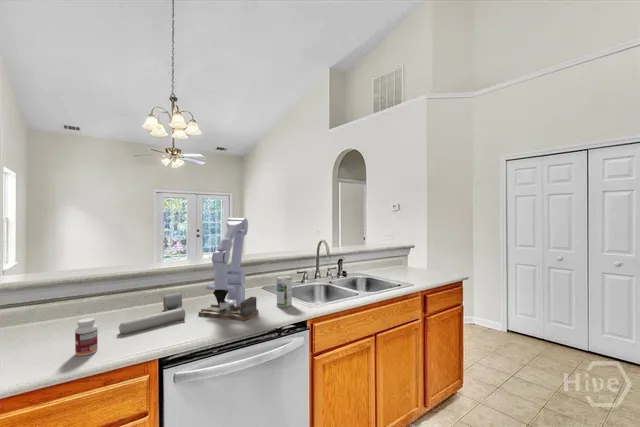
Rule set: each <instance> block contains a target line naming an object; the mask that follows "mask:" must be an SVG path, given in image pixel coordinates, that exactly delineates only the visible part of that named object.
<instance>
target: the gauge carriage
mask: <svg viewBox="0 0 640 427" xmlns="http://www.w3.org/2000/svg"><path fill="white" fill-rule="evenodd" d="M239 307H240V305H236V300H229V299H227V298H226V299H225V300H224V301H222V302H220V310H221V311H220V312H222V311H233V310H235V309H239Z"/></svg>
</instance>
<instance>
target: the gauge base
mask: <svg viewBox="0 0 640 427" xmlns="http://www.w3.org/2000/svg"><path fill="white" fill-rule="evenodd" d="M239 306H240V307H239V309H235V310H233V311H222V312H220V311H221V310H220V306H218V303H217V304H216V303H211V304H210V306H209V307H207V308H201V309H200V311H199V312H198V313H197V314H198V316H199V317H209V318H217V319H225V320H226V319H227V320H235V321H243V322H245V321H247V320H249V319H250V318H252V317H254V316H256V315H257V314H259V309H258V308H257V297H256V296H250V297H248V298H247V299H246V298H245V300H244V301H242V302H240V305H239Z"/></svg>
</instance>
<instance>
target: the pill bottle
mask: <svg viewBox="0 0 640 427" xmlns="http://www.w3.org/2000/svg"><path fill="white" fill-rule="evenodd" d="M95 320H96V319H95V318H94V317H87V318H82V319H79V320H78V321H77V326H78V327H76V328H75V331H74V337H75V338H74V339H75V341H74V343H75V345H74V346H75V347H74V349H75V355H76V356H81V357H83V356H89V355H92V354H94V353H96V352H97V351H98V348H99V346H98V341H99V340H98V338H99V337H98V335H99V334H98V325H97V324H95V322H96V321H95Z"/></svg>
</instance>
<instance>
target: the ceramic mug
mask: <svg viewBox="0 0 640 427" xmlns="http://www.w3.org/2000/svg"><path fill="white" fill-rule="evenodd" d="M182 296H183V294H182V292H176V293H169V294H165V295H164V296H163V298H162V299H163V300H162V301H163V302H162V303H163V305H162V306H163V310H165V312H166V311H170V310H174V309H179V308H180V307H181V308H183V299H182Z"/></svg>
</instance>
